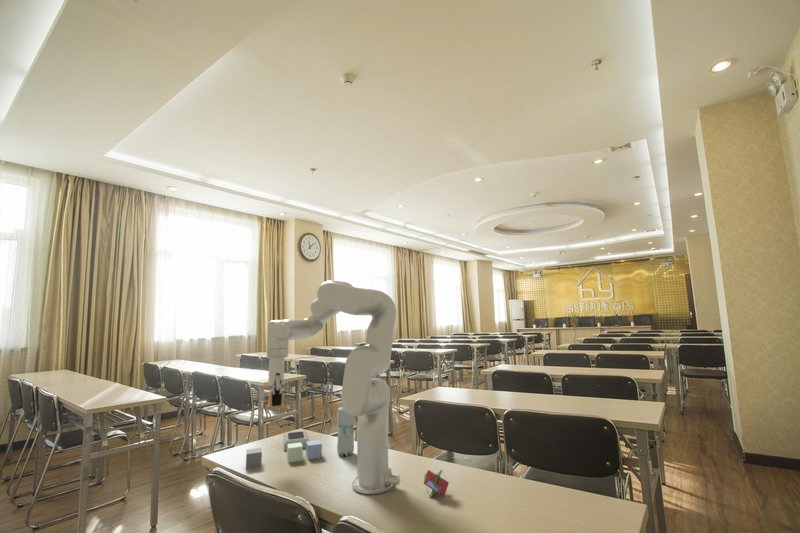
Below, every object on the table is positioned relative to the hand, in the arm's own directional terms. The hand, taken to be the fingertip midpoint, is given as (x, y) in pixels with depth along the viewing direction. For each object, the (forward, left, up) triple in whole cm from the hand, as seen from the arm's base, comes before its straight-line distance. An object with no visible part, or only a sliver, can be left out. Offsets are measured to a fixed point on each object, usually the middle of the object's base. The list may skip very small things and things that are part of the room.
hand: (276, 403), depth 136 cm
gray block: (+5, +5, -21) cm, 22 cm away
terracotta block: (0, 0, -1) cm, 1 cm away
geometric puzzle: (-62, +3, -21) cm, 65 cm away
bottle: (-20, -16, -21) cm, 33 cm away
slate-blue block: (-10, -10, -21) cm, 25 cm away
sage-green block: (-5, -5, -21) cm, 22 cm away
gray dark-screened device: (+6, -20, -21) cm, 29 cm away
